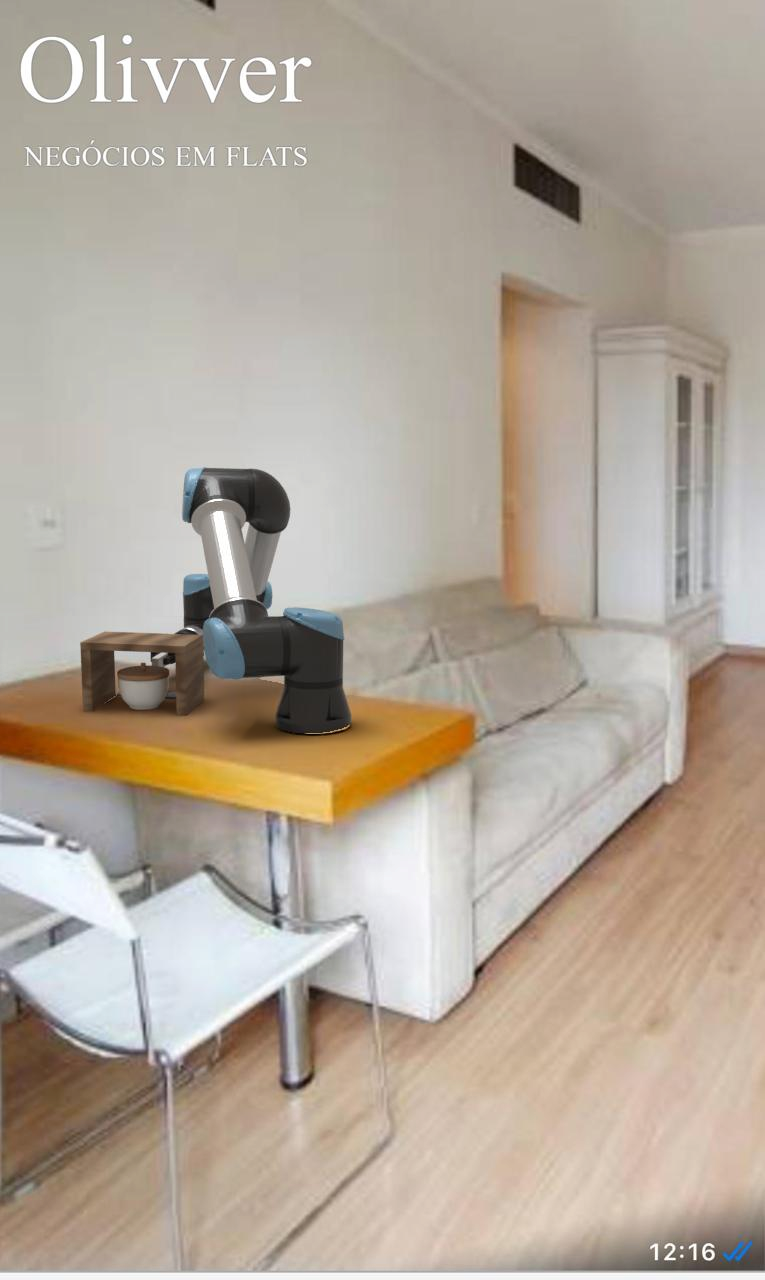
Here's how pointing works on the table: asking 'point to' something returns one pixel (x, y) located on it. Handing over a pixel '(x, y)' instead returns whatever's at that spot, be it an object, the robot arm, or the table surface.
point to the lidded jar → (143, 686)
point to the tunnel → (102, 646)
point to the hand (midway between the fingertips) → (155, 664)
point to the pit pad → (168, 696)
